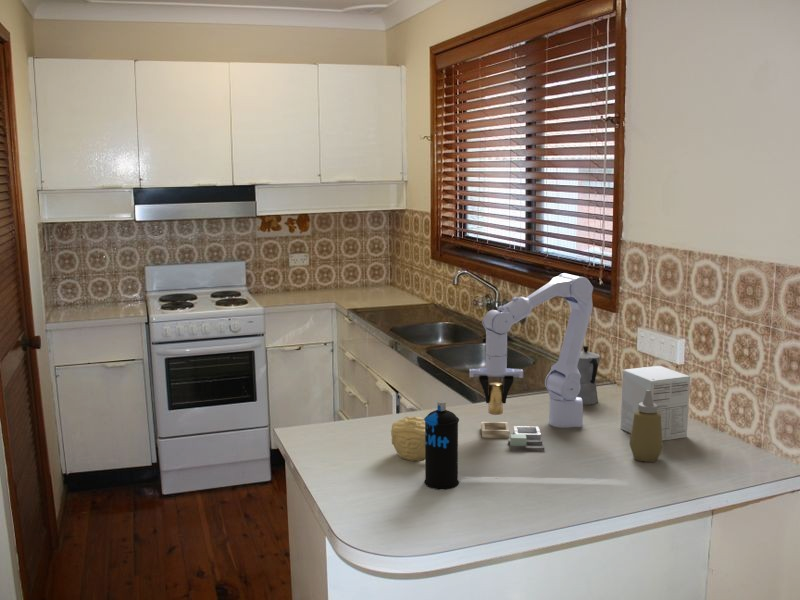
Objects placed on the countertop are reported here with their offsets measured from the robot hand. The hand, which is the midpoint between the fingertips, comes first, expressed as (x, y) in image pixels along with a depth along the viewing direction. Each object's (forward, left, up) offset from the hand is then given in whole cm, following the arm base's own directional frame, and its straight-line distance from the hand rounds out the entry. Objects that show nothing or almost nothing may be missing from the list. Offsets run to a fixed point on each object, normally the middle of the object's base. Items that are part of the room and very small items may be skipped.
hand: (495, 402), depth 217 cm
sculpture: (+22, +16, -10) cm, 29 cm away
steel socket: (-8, +3, -9) cm, 13 cm away
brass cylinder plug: (0, 0, -3) cm, 3 cm away
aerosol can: (+15, +33, -10) cm, 37 cm away
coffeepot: (-30, -34, -10) cm, 47 cm away
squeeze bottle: (-37, +15, -10) cm, 42 cm away
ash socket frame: (0, 0, -9) cm, 9 cm away
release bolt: (-5, +11, -9) cm, 15 cm away
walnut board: (-4, +5, -10) cm, 12 cm away
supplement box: (-44, -5, -10) cm, 46 cm away
